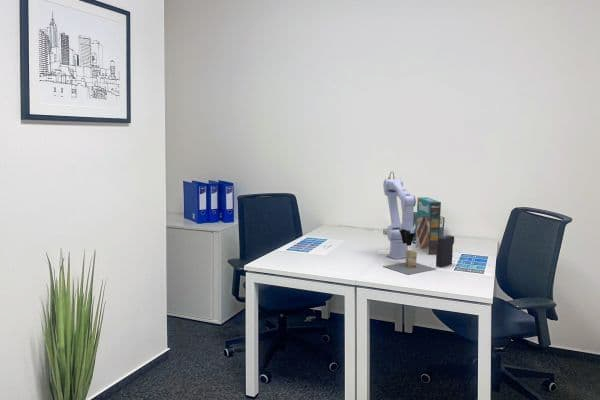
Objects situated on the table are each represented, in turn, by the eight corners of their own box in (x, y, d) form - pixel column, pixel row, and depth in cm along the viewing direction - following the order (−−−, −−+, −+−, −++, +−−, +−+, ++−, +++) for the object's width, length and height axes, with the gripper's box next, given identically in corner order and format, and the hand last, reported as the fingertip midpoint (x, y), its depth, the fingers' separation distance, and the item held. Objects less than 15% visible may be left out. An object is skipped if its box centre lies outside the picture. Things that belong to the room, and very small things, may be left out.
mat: (410, 261, 277) (410, 261, 277) (436, 269, 262) (436, 268, 262) (382, 266, 267) (382, 266, 267) (407, 274, 252) (407, 274, 252)
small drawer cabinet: (445, 262, 277) (447, 234, 275) (453, 264, 274) (454, 236, 272) (434, 266, 269) (436, 237, 267) (442, 267, 266) (443, 238, 264)
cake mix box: (415, 246, 316) (417, 197, 312) (425, 246, 316) (427, 197, 312) (428, 254, 294) (430, 202, 290) (438, 254, 295) (440, 202, 291)
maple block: (405, 265, 268) (406, 250, 267) (413, 265, 269) (413, 250, 268) (408, 267, 264) (409, 252, 263) (416, 267, 265) (416, 252, 264)
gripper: (395, 216, 277) (394, 241, 278) (405, 221, 262) (404, 247, 264) (408, 216, 278) (407, 241, 279) (418, 220, 263) (417, 247, 265)
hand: (406, 244), depth 272 cm, fingers open, 5 cm apart
